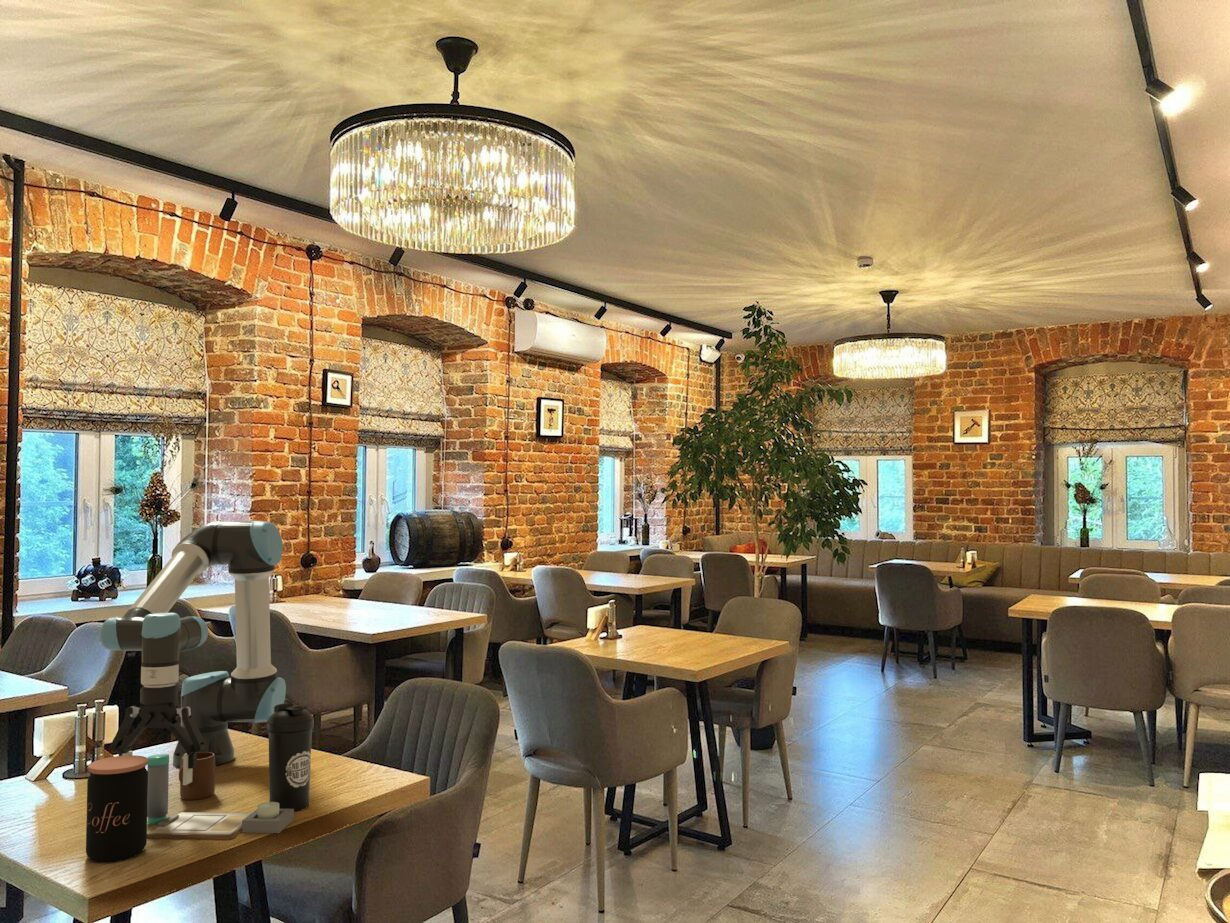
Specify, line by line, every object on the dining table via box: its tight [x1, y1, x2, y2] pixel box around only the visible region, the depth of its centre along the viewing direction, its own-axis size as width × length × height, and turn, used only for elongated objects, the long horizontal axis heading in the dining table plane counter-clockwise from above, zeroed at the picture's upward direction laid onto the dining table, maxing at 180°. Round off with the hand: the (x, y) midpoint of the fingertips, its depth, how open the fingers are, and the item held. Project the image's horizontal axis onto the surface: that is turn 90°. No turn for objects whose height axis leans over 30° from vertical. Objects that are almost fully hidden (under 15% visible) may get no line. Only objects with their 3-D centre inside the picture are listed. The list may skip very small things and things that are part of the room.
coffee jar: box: [85, 754, 148, 864], centre depth 188 cm, size 11×11×18 cm
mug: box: [178, 752, 216, 801], centre depth 223 cm, size 12×8×9 cm, turn 178°
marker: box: [146, 753, 170, 825], centre depth 207 cm, size 4×4×14 cm
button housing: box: [241, 808, 295, 834], centre depth 204 cm, size 8×8×2 cm
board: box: [147, 811, 252, 840], centre depth 203 cm, size 14×18×2 cm
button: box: [257, 801, 279, 819], centre depth 204 cm, size 4×4×3 cm
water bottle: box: [266, 702, 315, 813], centre depth 217 cm, size 10×10×23 cm
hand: (157, 783), depth 207 cm, fingers open, 13 cm apart
